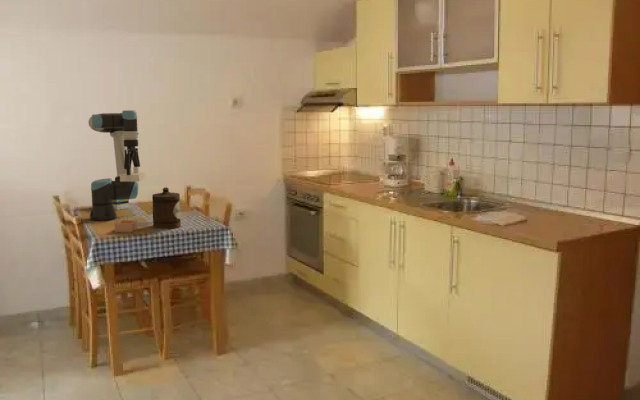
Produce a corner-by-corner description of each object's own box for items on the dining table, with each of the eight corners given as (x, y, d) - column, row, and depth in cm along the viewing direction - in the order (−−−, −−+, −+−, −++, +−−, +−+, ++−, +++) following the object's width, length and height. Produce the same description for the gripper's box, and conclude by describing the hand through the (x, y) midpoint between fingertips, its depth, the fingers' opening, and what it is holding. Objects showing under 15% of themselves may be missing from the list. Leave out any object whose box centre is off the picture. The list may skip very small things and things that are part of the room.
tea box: (129, 208, 389) (128, 185, 387) (117, 210, 381) (115, 187, 378) (114, 206, 397) (113, 184, 395) (101, 208, 389) (100, 185, 386)
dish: (114, 232, 316) (114, 223, 315) (121, 229, 325) (121, 220, 324) (131, 233, 315) (131, 223, 314) (137, 229, 324) (137, 220, 323)
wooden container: (182, 228, 327) (181, 188, 324) (154, 230, 322) (152, 190, 319) (178, 223, 341) (177, 185, 337) (152, 225, 336) (150, 186, 332)
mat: (124, 227, 330) (124, 226, 330) (132, 222, 342) (132, 222, 342) (145, 227, 329) (145, 226, 329) (153, 223, 341) (153, 222, 341)
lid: (120, 181, 321) (119, 174, 320) (127, 179, 331) (126, 172, 331) (139, 181, 320) (139, 174, 320) (145, 179, 331) (145, 172, 330)
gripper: (130, 140, 311) (132, 182, 314) (144, 138, 334) (146, 177, 337) (115, 140, 311) (118, 182, 314) (131, 138, 334) (133, 177, 337)
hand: (133, 179), depth 326 cm, fingers closed on lid, 10 cm apart
